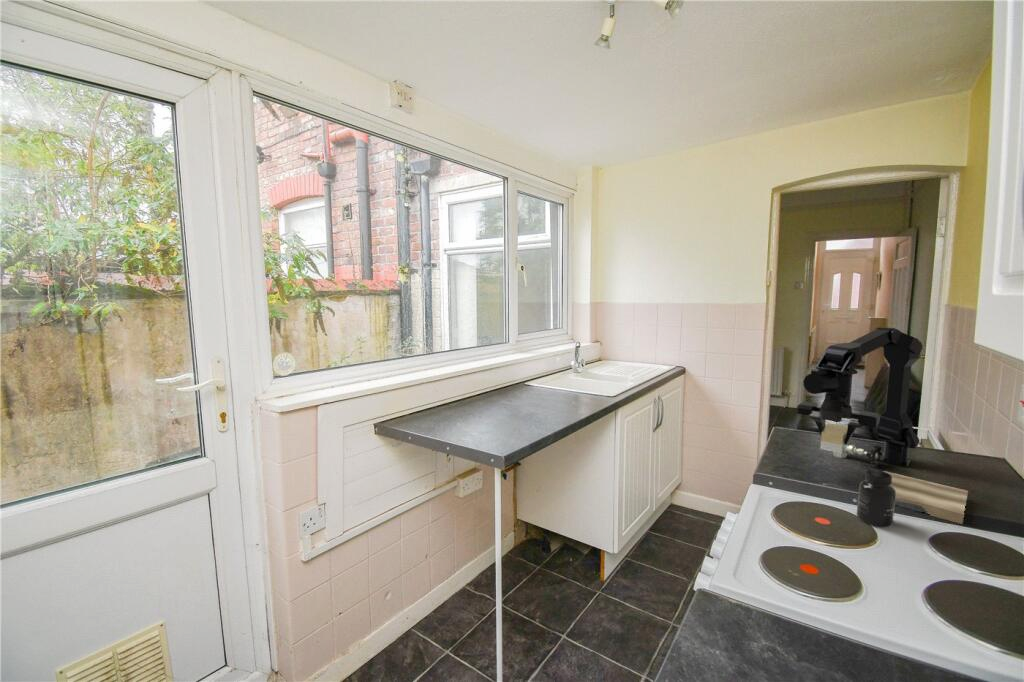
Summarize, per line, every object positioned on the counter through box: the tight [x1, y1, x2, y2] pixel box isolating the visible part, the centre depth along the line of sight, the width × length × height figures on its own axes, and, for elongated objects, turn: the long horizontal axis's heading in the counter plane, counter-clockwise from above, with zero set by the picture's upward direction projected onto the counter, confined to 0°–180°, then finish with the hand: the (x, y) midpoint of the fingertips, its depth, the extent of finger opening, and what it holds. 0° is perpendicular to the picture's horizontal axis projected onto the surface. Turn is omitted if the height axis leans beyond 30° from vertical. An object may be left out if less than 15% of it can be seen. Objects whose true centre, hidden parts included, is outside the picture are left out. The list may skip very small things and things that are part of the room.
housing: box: [819, 422, 848, 453], centre depth 128 cm, size 10×5×5 cm, turn 136°
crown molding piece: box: [882, 470, 969, 525], centre depth 116 cm, size 16×17×2 cm
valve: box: [832, 443, 883, 467], centre depth 140 cm, size 7×7×12 cm
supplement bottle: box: [856, 469, 896, 528], centre depth 106 cm, size 7×7×12 cm
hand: (834, 441), depth 128 cm, fingers closed on housing, 5 cm apart
